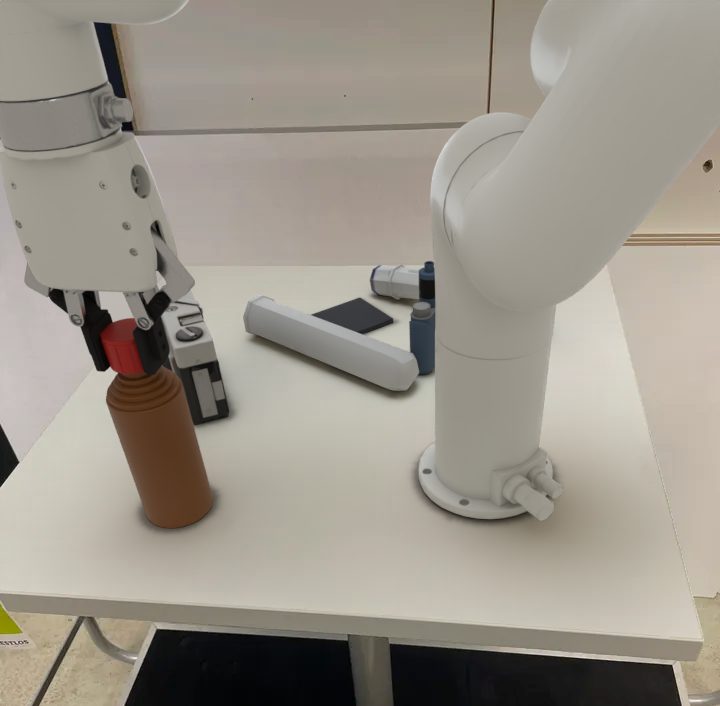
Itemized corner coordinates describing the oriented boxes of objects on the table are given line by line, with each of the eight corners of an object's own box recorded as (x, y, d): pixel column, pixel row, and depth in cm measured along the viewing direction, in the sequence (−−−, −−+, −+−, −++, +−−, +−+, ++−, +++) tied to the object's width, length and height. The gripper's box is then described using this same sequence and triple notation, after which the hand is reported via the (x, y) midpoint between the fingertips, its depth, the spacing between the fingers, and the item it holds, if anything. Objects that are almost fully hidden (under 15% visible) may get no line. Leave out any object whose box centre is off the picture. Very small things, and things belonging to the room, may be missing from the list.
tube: (431, 349, 80) (275, 292, 93) (403, 355, 76) (244, 295, 90) (422, 394, 83) (271, 333, 96) (394, 402, 79) (241, 337, 92)
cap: (165, 364, 58) (156, 331, 56) (118, 379, 57) (107, 347, 55) (150, 344, 61) (141, 313, 59) (104, 358, 59) (94, 327, 57)
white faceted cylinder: (387, 257, 100) (554, 270, 86) (394, 303, 104) (556, 322, 90) (364, 271, 97) (534, 287, 83) (372, 317, 101) (536, 340, 86)
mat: (393, 322, 94) (393, 318, 94) (341, 342, 91) (341, 337, 91) (360, 301, 99) (359, 297, 99) (310, 318, 96) (309, 314, 96)
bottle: (226, 502, 69) (184, 334, 57) (170, 538, 65) (113, 368, 54) (188, 474, 72) (140, 311, 61) (133, 507, 69) (72, 341, 57)
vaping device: (443, 355, 87) (444, 259, 79) (428, 377, 83) (427, 279, 76) (423, 351, 88) (422, 257, 80) (407, 373, 84) (404, 276, 77)
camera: (142, 373, 88) (120, 297, 82) (208, 357, 90) (191, 282, 84) (158, 434, 78) (134, 353, 72) (232, 415, 80) (215, 335, 74)
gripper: (198, 102, 48) (245, 346, 60) (-18, 107, 51) (67, 336, 63) (149, 135, 42) (211, 397, 54) (-89, 137, 46) (18, 383, 58)
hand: (133, 362), depth 58 cm, fingers closed on cap, 3 cm apart
